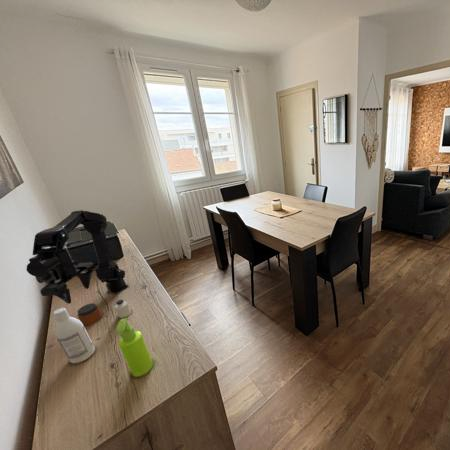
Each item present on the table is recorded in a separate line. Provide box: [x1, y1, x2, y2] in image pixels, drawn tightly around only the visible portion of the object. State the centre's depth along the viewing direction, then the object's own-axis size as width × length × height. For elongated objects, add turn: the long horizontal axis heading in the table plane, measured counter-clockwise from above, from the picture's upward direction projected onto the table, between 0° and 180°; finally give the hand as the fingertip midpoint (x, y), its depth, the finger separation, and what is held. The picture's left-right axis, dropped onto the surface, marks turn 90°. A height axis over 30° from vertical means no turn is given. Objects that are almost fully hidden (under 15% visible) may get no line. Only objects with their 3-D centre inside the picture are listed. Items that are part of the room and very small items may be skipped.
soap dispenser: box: [115, 317, 154, 378], centre depth 74 cm, size 6×7×20 cm
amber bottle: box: [76, 302, 103, 326], centre depth 101 cm, size 7×7×6 cm
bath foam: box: [52, 307, 96, 364], centre depth 81 cm, size 7×7×20 cm
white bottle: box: [114, 299, 132, 319], centre depth 102 cm, size 4×4×7 cm
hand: (78, 295), depth 96 cm, fingers open, 9 cm apart
